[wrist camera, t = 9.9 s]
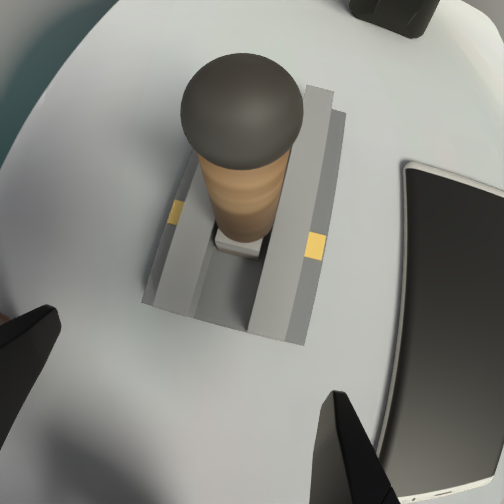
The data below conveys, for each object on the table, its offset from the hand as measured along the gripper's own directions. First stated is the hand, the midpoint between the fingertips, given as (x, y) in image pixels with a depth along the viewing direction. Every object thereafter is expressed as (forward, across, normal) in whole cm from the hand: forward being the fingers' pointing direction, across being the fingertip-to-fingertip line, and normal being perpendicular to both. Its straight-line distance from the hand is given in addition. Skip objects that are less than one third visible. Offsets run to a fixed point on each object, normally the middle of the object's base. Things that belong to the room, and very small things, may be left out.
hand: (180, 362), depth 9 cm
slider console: (+15, 0, +1) cm, 15 cm away
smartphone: (+12, -18, +6) cm, 22 cm away
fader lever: (+12, 0, +1) cm, 12 cm away
